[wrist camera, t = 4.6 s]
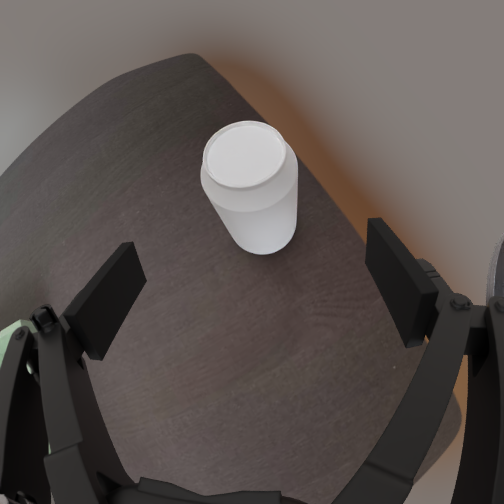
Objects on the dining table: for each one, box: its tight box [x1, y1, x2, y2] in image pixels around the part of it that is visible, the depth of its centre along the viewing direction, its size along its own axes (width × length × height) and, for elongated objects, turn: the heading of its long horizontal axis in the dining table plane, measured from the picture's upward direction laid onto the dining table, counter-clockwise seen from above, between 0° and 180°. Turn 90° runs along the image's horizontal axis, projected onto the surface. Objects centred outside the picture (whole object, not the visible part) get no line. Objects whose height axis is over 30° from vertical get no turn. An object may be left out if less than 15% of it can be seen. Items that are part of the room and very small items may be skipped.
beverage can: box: [201, 121, 298, 254], centre depth 21 cm, size 6×6×12 cm
